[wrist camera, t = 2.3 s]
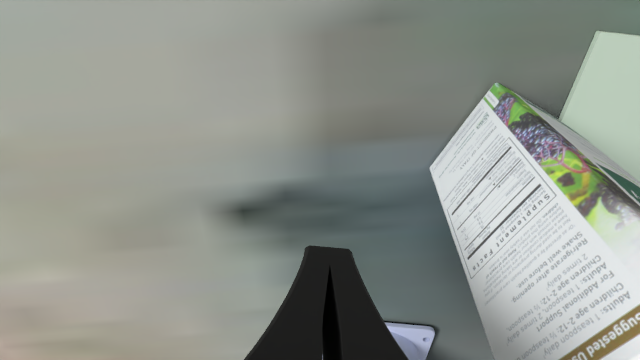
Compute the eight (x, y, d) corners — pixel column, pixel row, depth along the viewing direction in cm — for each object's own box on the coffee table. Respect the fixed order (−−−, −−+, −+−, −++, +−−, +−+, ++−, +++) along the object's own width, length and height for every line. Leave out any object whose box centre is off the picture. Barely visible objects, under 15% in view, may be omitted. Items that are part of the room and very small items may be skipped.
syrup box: (582, 131, 20) (954, 416, 8) (504, 213, 23) (685, 519, 10) (493, 79, 19) (755, 306, 7) (423, 170, 22) (516, 452, 10)
